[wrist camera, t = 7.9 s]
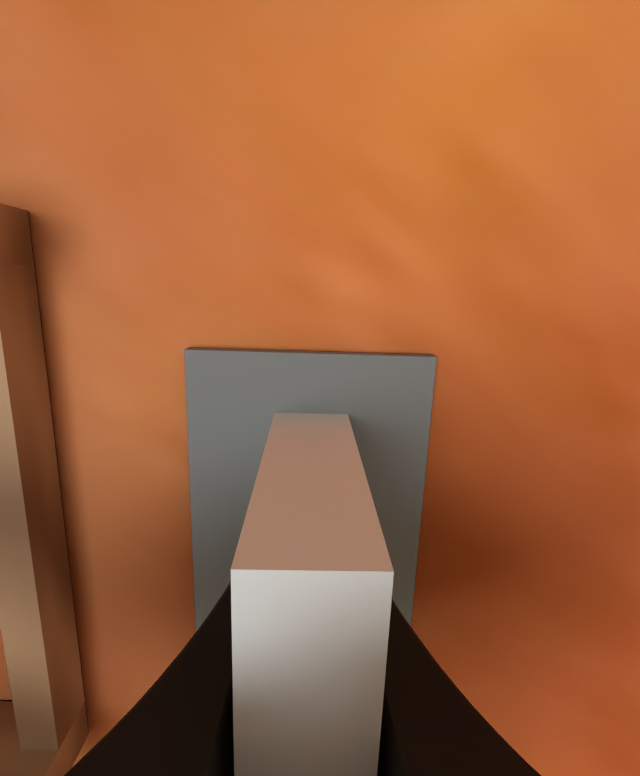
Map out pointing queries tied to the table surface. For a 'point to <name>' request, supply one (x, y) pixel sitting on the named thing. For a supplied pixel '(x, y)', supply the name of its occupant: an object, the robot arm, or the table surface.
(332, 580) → the panel
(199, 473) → the mat
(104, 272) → the table surface
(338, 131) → the table surface
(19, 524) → the rack
